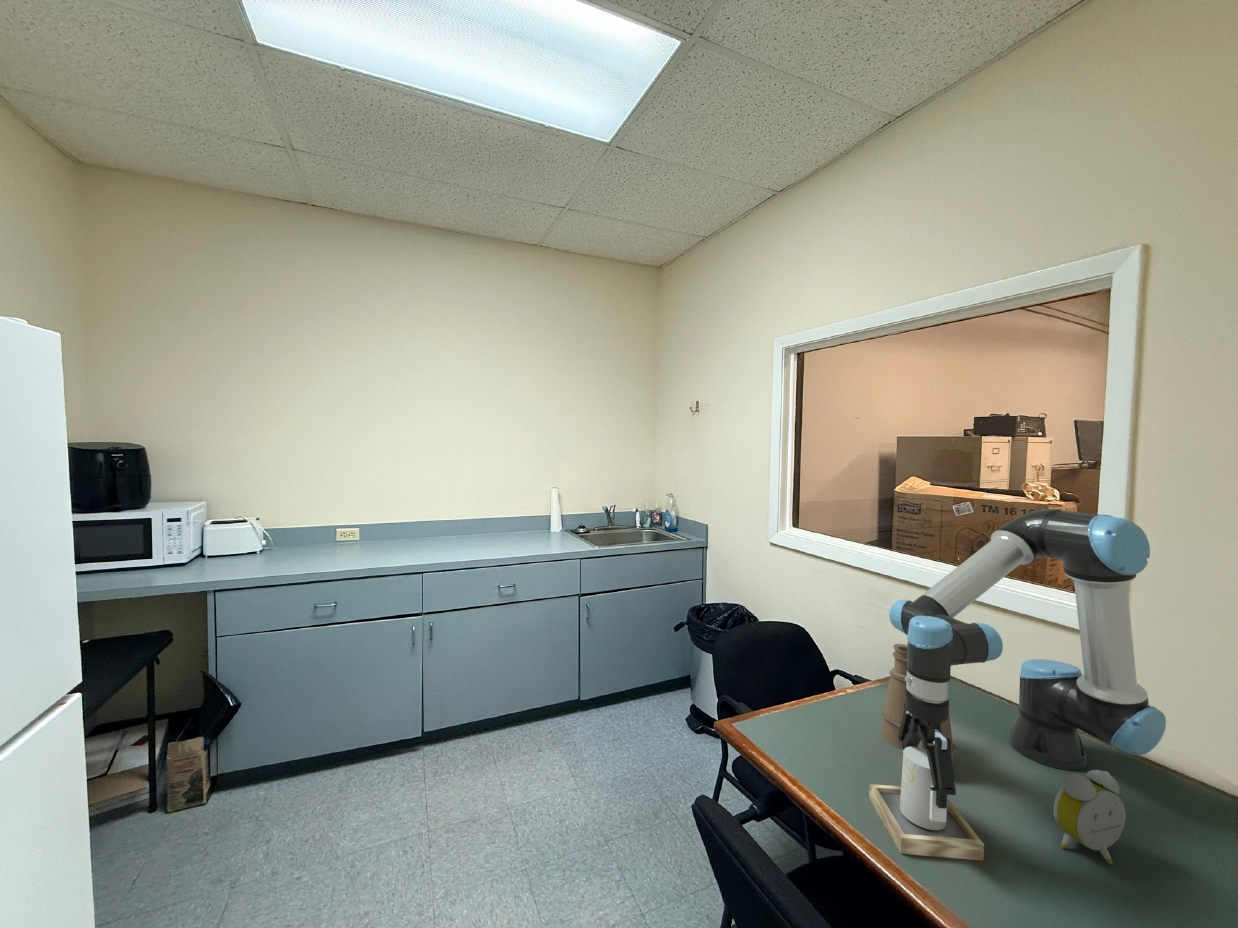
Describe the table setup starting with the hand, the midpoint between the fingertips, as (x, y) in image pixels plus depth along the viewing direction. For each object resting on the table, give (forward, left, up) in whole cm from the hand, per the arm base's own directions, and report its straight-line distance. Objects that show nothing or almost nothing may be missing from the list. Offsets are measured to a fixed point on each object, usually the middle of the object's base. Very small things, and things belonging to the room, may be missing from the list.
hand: (922, 799), depth 102 cm
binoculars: (-11, -26, -6) cm, 29 cm away
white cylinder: (0, 0, -4) cm, 4 cm away
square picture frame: (0, 0, -6) cm, 6 cm away
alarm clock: (-30, +3, -6) cm, 31 cm away
